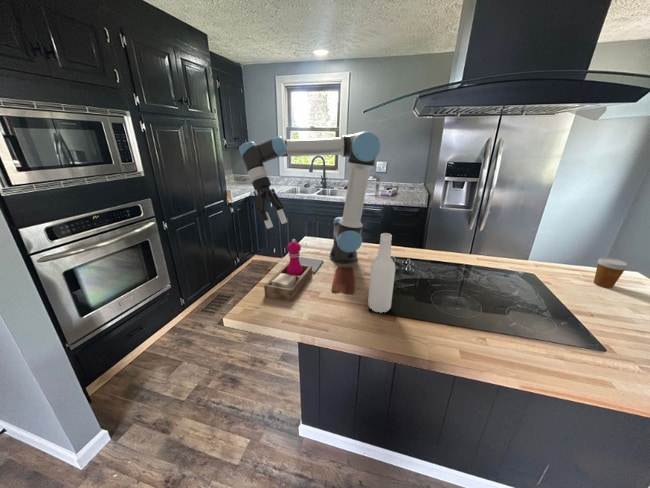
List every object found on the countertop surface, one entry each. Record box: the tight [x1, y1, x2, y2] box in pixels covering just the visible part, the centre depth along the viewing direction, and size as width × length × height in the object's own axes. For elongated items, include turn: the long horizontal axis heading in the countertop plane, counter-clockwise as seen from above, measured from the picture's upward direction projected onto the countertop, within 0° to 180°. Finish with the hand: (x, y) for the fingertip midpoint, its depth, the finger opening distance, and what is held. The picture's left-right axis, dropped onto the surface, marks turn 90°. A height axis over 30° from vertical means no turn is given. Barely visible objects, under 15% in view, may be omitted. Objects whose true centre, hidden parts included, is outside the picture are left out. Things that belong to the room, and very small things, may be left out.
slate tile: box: [299, 256, 324, 274], centre depth 137 cm, size 14×14×1 cm
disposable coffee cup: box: [593, 256, 629, 289], centre depth 119 cm, size 10×10×12 cm
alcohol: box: [367, 232, 396, 314], centre depth 98 cm, size 9×9×30 cm
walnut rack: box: [263, 261, 313, 302], centre depth 117 cm, size 12×24×5 cm, turn 163°
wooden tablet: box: [331, 266, 356, 295], centre depth 124 cm, size 27×10×2 cm, turn 173°
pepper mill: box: [286, 238, 303, 276], centre depth 120 cm, size 7×7×20 cm
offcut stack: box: [272, 274, 296, 289], centre depth 112 cm, size 9×9×6 cm
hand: (277, 225), depth 116 cm, fingers open, 13 cm apart
